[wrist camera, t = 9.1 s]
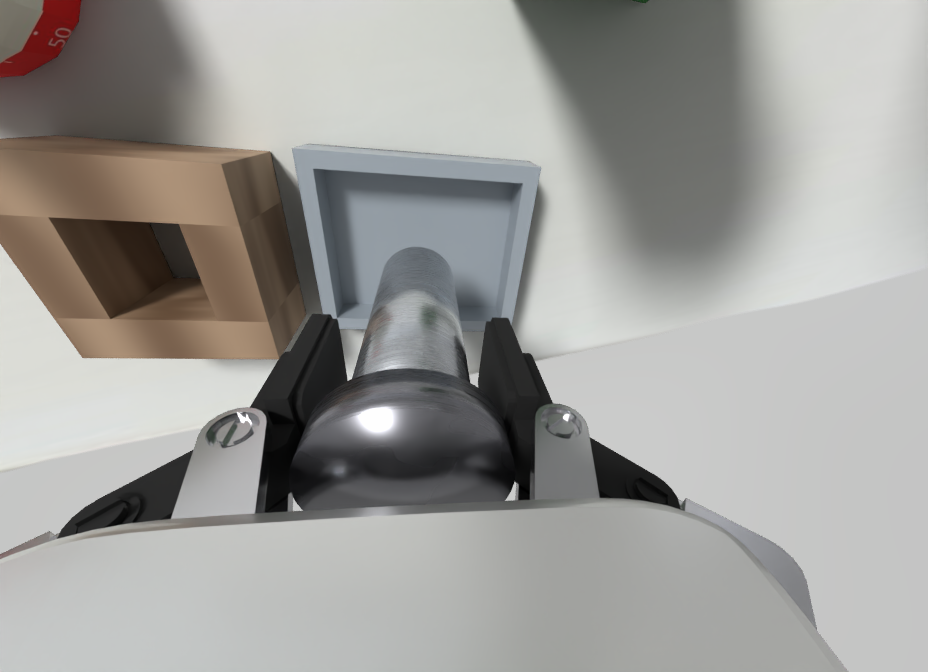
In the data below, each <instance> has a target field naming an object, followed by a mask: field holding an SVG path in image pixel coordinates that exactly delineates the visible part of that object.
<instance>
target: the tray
mask: <svg viewBox="0 0 928 672" xmlns="http://www.w3.org/2000/svg"><path fill="white" fill-rule="evenodd" d="M292 152H293V157H294V162H295V168H296V173H297V178H298V184H299V189H300V194H301V200H302V205H303V210H304V216H305V221H306V226H307V232H308V237H309V242H310V248H311V253H312V258H313V264H314V269H315V275H316V280H317V285H318V291H319V296H320V301H321V307H322V312H323V314H331V316H332V318H333V319H337V320H338V323H339V329H366V328H367V325H368V321H369V318H370V314H371V311H372V307H373V304H374V300H375V297H376V293H377V290H378V286H379V282H380V279H381V275H382V272H383V269H384V266H385V264H386V262H387V261H388V259H389V258H390V257H391V256H392V255H394V254H395V253H396V252H398V251H400V250H402V249H405V248H408V247H424V248H428V249H431V250H433V251H435V252H437V253H438V254H440V255H441V256H442V257H443V258H444V259H445V260H446V261H447V262H448V264H449V266H450V268H451V270H452V273H453V279H454V285H455V292H456V298H457V304H458V310H459V316H460V323H461V329H462V331H485V325H486V322H487V321H491V319H492V317H499V318H508V319H509V321H510V323H511V326H512V321H513V315H514V310H515V305H516V299H517V294H518V289H519V283H520V278H521V273H522V267H523V262H524V257H525V251H526V246H527V241H528V235H529V230H530V225H531V219H532V214H533V209H534V203H535V198H536V193H537V187H538V182H539V176H540V171H541V167H539V166H537V165H535V164H533V163H531V162H529V161H520V160H507V159H494V158H482V157H469V156H456V155H444V154H431V153H418V152H406V151H393V150H380V149H368V148H355V147H342V146H329V145H317V144H306V145H302V146H298V147H294V148H292Z"/></svg>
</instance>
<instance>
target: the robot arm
mask: <svg viewBox="0 0 928 672" xmlns="http://www.w3.org/2000/svg"><path fill="white" fill-rule="evenodd" d="M345 382H347V374H346V368H345V361H344V355H343V348H342V342H341V336H340V329H339V323H338V320H337V319H333V318H332V316H331V314H312V315H311V317H310V318H309V320H308V322H307V324H306V325H305V327H304V329H303V331H302V332H301V334H300V336H299V337H298V339H297V341H296V343H295V344H294V346H293V348H292V350H291V351H290V352H285V353H283V354H282V355H281V357H280V359H279V360H278V362H277V363H276V365H275V367H274V368H273V370H272V372H271V373H270V375H269V377H268V378H267V380H266V382H265V383H264V385H263V387H262V388H261V390H260V392H259V393H258V395H257V397H256V398H255V400H254V401H253V403H252V405H251V406H250V408H248V407H247V408H237V409H234V410H230V411H227V412H225V413H223V414H220V415H218V416H217V417H215V418H214V419H212V420H211V421H209V422H208V423H207V424H206V425H205V426H204V427H203V428H202V430H201V432H200V433H199V435H198V438H197V441H196V444H195V447H194V450H192V451H190V452H188V453H186V454H184V455H183V456H181V457H179V458H177V459H175V460H173V461H171V462H169V463H167V464H165V465H163V466H161V467H160V468H157V469H156V470H154V471H152V472H150V473H148V474H146V475H144V476H142V477H140V478H138V479H137V480H134V481H133V482H131V483H129V484H127V485H125V486H123V487H121V488H119V489H117V490H115V491H113V492H111V493H110V494H107V495H105V496H103V497H102V498H100V499H98V500H96V501H95V502H93V503H91V504H90V505H88V506H86V507H85V508H84V509H83V510H81V511H80V512H79V513H77V514H76V515H75V516H74V517H72V518H71V520H70V521H69V522H68V523H67V524H66V525H65V526H64V528H63V529H62V530H61V532H60V533H58V534H56V535H54V534H53V533H52V532H50V531H49V532H47V533H45V534H43V535H40V536H38V537H36V538H34V539H32V540H30V541H28V542H25V543H23V544H21V545H19V546H17V547H15V548H13V549H10V550H8V551H6V552H4V553H2V554H0V672H848V671H847V669H846V668H845V667H844V665H843V664H842V663H841V661H840V660H839V659H838V657H837V656H836V655H835V654H834V652H833V651H832V650H831V648H830V647H829V646H828V644H827V643H826V642H825V640H824V639H823V638H822V637H821V635H820V634H819V633H818V631H817V627H816V624H815V618H814V614H813V609H812V605H811V599H810V595H809V590H808V585H807V581H806V579H805V577H804V574H803V572H802V570H801V568H800V567H799V566H798V564H797V563H796V562H795V560H794V559H793V558H792V557H791V556H790V555H789V554H788V553H786V552H785V551H784V550H783V549H782V548H781V547H779V546H777V545H776V544H775V543H773V542H771V541H770V540H768V539H766V538H764V537H762V536H760V535H758V534H756V533H754V532H752V531H750V530H748V529H746V528H744V527H742V526H740V525H738V524H736V523H734V522H732V521H730V520H728V519H726V518H724V517H722V516H720V515H719V514H716V513H714V512H712V511H711V510H708V509H706V508H704V507H703V506H701V505H699V504H697V503H695V502H693V501H690V500H689V499H687V498H686V499H685V500H684V501H683V502H682V501H681V500H679V499H678V498H677V496H676V495H675V493H674V492H673V490H672V489H671V488H670V487H669V486H668V485H667V484H666V483H665V482H664V481H663V480H661V479H660V478H658V477H657V476H656V475H654V474H652V473H650V472H648V471H647V470H645V469H643V468H642V467H640V466H638V465H636V464H635V463H633V462H631V461H630V460H628V459H626V458H625V457H623V456H621V455H619V454H618V453H616V452H614V451H613V450H611V449H609V448H607V447H605V446H604V445H602V444H600V443H599V442H597V441H595V440H594V439H592V438H590V437H589V432H588V426H587V424H586V421H585V420H584V419H583V417H582V416H581V415H580V414H579V413H578V412H577V411H575V410H574V409H572V408H570V407H568V406H565V405H561V404H553V403H552V400H551V398H550V395H549V393H548V391H547V389H546V386H545V384H544V382H543V380H542V377H541V375H540V373H539V370H538V368H537V366H536V363H535V361H534V359H533V357H532V355H531V354H530V353H522V351H521V348H520V346H519V343H518V341H517V338H516V336H515V333H514V331H513V328H512V326H511V323H510V321H509V319H508V318H499V317H492V319H491V321H487V322H486V325H485V332H484V340H483V347H482V355H481V362H480V370H479V378H478V388H479V389H480V390H482V391H483V392H484V393H486V394H487V395H488V396H489V397H490V398H491V399H492V400H493V402H494V403H495V404H496V406H497V407H498V409H499V411H500V413H501V415H502V417H503V421H504V424H505V428H506V432H507V436H508V440H509V444H510V448H511V452H512V456H513V460H514V464H515V480H514V481H515V482H516V483H517V484H516V498H515V501H494V502H471V503H449V504H428V505H407V506H387V507H367V508H347V509H328V510H309V511H293V496H292V494H291V491H290V487H289V470H290V466H291V463H292V460H293V458H294V455H295V453H296V450H297V448H298V445H299V442H300V440H301V437H302V435H303V432H304V430H305V427H306V424H307V422H308V419H309V417H310V415H311V413H312V411H313V410H314V408H315V407H316V405H317V404H318V403H319V402H320V401H321V400H322V399H323V398H324V397H325V396H326V395H327V394H328V393H329V392H331V391H332V390H333V389H335V388H336V387H338V386H340V385H341V384H343V383H345Z"/></svg>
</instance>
